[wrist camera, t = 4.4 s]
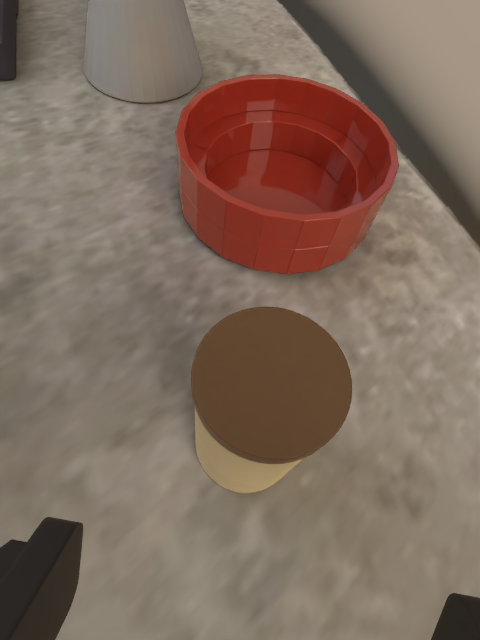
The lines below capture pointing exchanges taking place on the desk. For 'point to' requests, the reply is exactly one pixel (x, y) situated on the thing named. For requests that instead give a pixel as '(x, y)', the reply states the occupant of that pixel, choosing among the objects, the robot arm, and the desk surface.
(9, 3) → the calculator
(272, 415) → the tea tin
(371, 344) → the desk surface
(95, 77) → the lamp
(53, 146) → the desk surface
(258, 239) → the bowl
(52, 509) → the desk surface
